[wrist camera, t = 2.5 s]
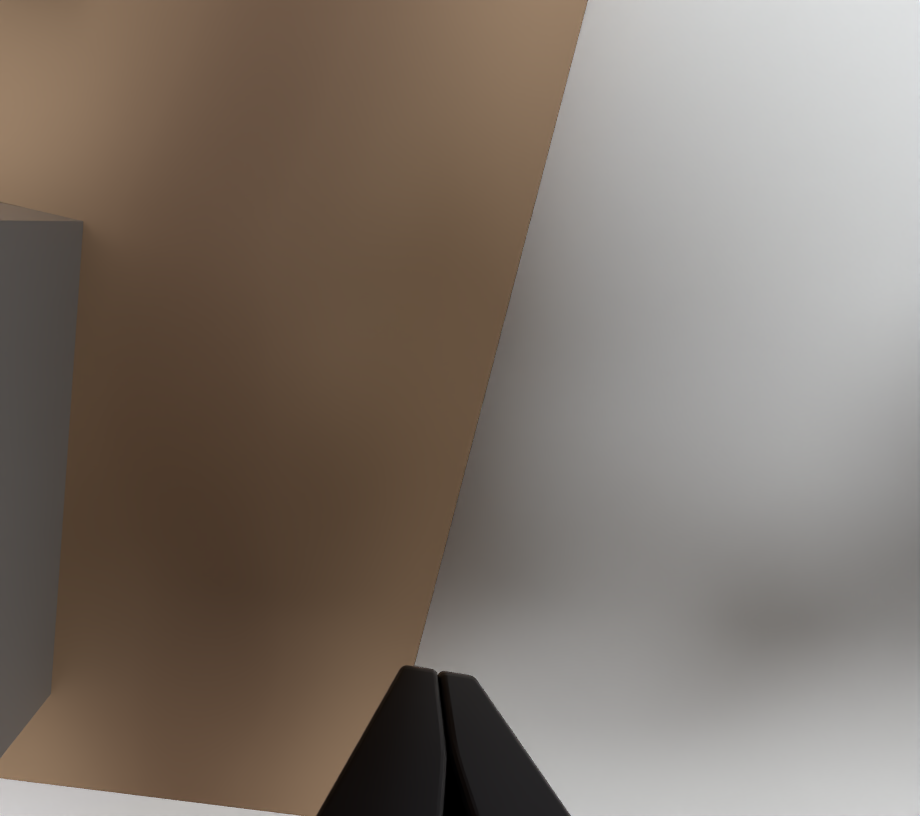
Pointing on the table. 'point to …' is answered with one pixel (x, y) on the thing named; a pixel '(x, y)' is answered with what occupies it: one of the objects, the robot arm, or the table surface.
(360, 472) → the board
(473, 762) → the robot arm
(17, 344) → the tile
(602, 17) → the table surface
